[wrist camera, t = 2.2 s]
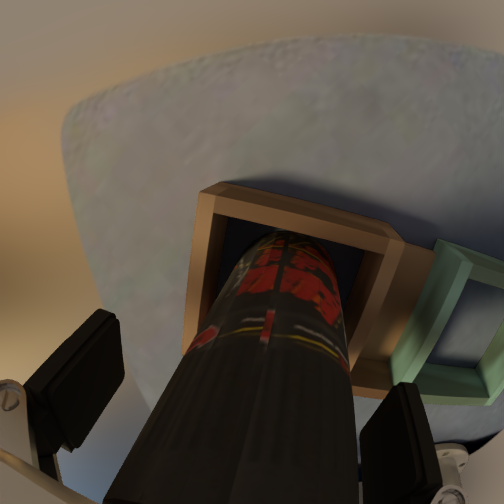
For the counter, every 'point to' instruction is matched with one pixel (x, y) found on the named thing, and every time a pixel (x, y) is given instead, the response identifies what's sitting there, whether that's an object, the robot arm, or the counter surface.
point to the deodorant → (256, 394)
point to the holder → (364, 293)
